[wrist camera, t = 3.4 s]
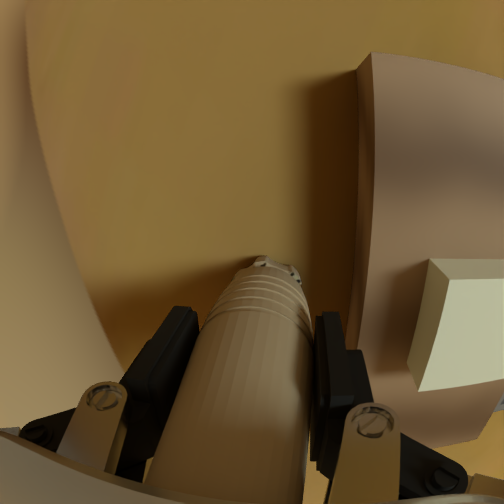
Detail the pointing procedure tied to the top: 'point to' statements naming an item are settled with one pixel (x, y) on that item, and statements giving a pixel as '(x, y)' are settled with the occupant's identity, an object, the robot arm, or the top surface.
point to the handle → (244, 396)
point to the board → (422, 224)
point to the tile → (459, 325)
